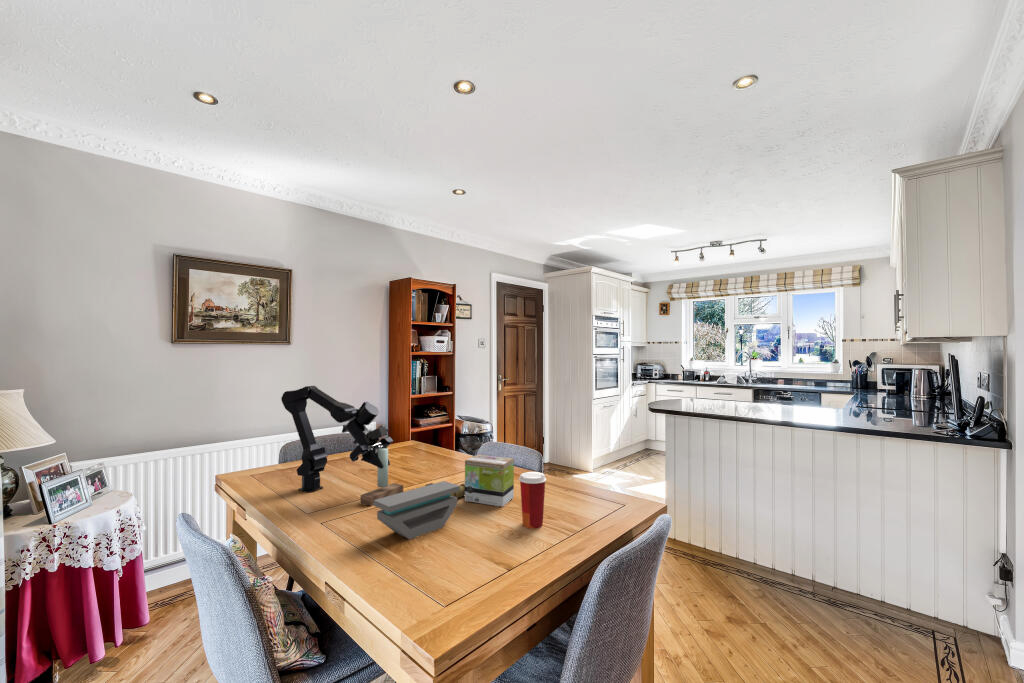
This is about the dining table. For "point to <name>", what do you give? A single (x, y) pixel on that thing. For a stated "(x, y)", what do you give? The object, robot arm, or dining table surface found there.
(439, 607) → the dining table surface
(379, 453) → the post
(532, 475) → the coffee cup
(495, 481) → the tea box
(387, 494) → the brown wooden block
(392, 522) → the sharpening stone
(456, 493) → the gavel
